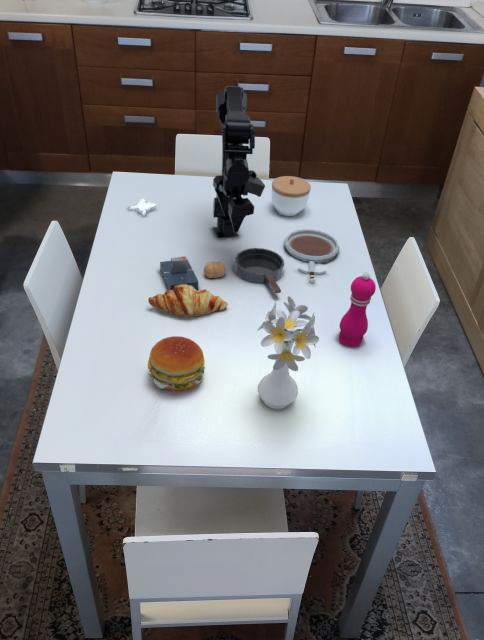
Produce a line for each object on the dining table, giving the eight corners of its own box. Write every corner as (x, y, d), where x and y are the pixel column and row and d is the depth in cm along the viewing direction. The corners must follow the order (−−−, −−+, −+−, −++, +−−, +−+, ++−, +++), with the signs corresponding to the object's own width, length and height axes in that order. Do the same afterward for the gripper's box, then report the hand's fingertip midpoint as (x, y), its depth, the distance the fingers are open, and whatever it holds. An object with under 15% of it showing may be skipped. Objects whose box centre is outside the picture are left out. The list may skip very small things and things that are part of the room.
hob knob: (172, 273, 178) (172, 260, 175) (171, 270, 179) (170, 257, 176) (186, 272, 179) (187, 258, 176) (185, 269, 180) (185, 255, 177)
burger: (183, 404, 147) (183, 371, 140) (136, 381, 151) (134, 348, 144) (215, 373, 155) (217, 340, 148) (169, 352, 160) (169, 319, 152)
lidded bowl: (263, 214, 211) (267, 181, 203) (276, 198, 220) (280, 166, 212) (299, 223, 209) (304, 191, 201) (311, 207, 217) (316, 175, 209)
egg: (201, 273, 185) (202, 260, 182) (222, 271, 186) (223, 257, 183) (205, 282, 182) (206, 268, 179) (227, 279, 184) (228, 266, 180)
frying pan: (283, 275, 183) (285, 225, 202) (282, 283, 185) (283, 233, 204) (342, 281, 183) (338, 230, 202) (340, 289, 185) (337, 238, 204)
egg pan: (228, 261, 190) (228, 250, 188) (272, 256, 194) (274, 245, 191) (243, 287, 181) (244, 277, 179) (289, 281, 185) (291, 271, 182)
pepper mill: (366, 335, 170) (384, 269, 155) (361, 351, 165) (379, 284, 150) (339, 328, 171) (355, 262, 157) (333, 344, 166) (349, 276, 152)
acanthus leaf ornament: (142, 201, 212) (142, 196, 211) (158, 208, 210) (158, 203, 208) (127, 209, 208) (127, 204, 206) (143, 216, 205) (143, 211, 204)
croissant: (225, 313, 178) (226, 284, 175) (229, 319, 168) (230, 288, 166) (148, 312, 175) (148, 282, 173) (148, 317, 166) (148, 285, 163)
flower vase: (255, 431, 143) (267, 342, 125) (246, 376, 155) (255, 288, 137) (312, 430, 144) (332, 341, 126) (299, 375, 157) (315, 288, 138)
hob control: (159, 271, 184) (159, 261, 182) (187, 267, 186) (187, 258, 184) (169, 294, 177) (169, 284, 174) (198, 290, 179) (199, 281, 176)
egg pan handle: (264, 277, 181) (264, 274, 181) (270, 276, 182) (270, 273, 181) (274, 293, 176) (275, 290, 175) (280, 292, 176) (281, 290, 176)
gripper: (275, 182, 166) (268, 237, 178) (252, 152, 178) (247, 205, 190) (234, 185, 163) (230, 241, 175) (213, 155, 175) (211, 209, 187)
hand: (231, 223), depth 182 cm, fingers open, 9 cm apart
